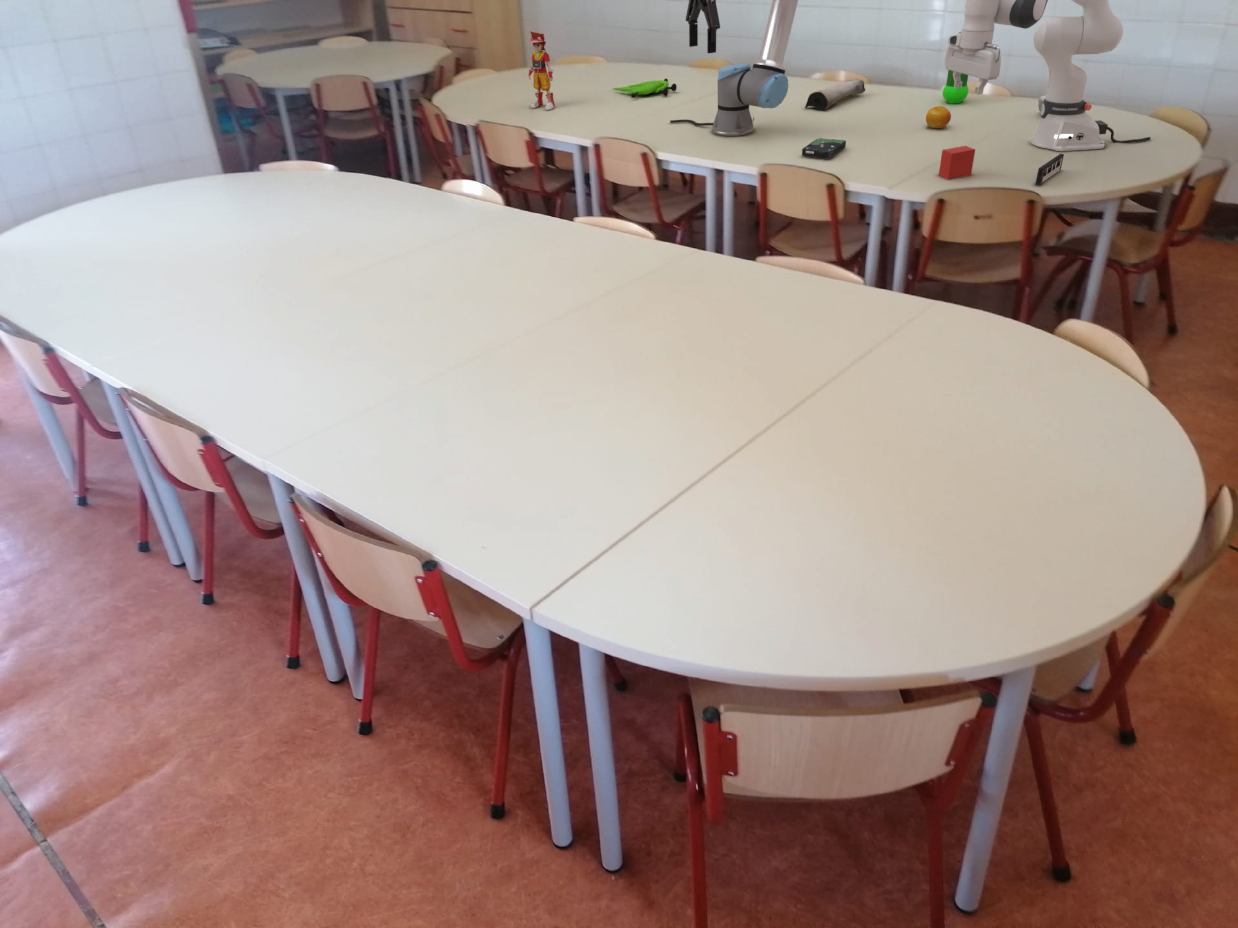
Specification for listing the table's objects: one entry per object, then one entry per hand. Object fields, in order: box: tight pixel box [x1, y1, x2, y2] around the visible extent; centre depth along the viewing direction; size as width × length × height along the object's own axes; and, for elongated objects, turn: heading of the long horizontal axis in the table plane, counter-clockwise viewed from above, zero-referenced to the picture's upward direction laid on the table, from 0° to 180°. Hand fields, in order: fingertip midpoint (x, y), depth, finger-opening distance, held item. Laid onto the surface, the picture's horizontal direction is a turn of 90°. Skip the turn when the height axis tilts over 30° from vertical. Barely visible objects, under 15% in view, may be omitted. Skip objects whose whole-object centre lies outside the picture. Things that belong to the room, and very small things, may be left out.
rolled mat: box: [804, 78, 866, 111], centre depth 363 cm, size 30×9×10 cm
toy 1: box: [527, 31, 556, 111], centre depth 374 cm, size 12×9×30 cm
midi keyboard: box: [1035, 153, 1065, 186], centre depth 273 cm, size 18×1×5 cm, turn 138°
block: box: [938, 145, 976, 180], centre depth 279 cm, size 5×9×8 cm, turn 111°
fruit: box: [925, 105, 952, 129], centre depth 325 cm, size 8×8×8 cm
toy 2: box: [612, 78, 677, 99], centre depth 396 cm, size 28×5×30 cm
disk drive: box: [801, 137, 847, 160], centre depth 307 cm, size 10×3×15 cm
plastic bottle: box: [942, 31, 969, 104], centre depth 348 cm, size 10×10×25 cm
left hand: (702, 49), depth 290 cm, fingers open, 13 cm apart
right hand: (967, 90), depth 267 cm, fingers open, 8 cm apart
